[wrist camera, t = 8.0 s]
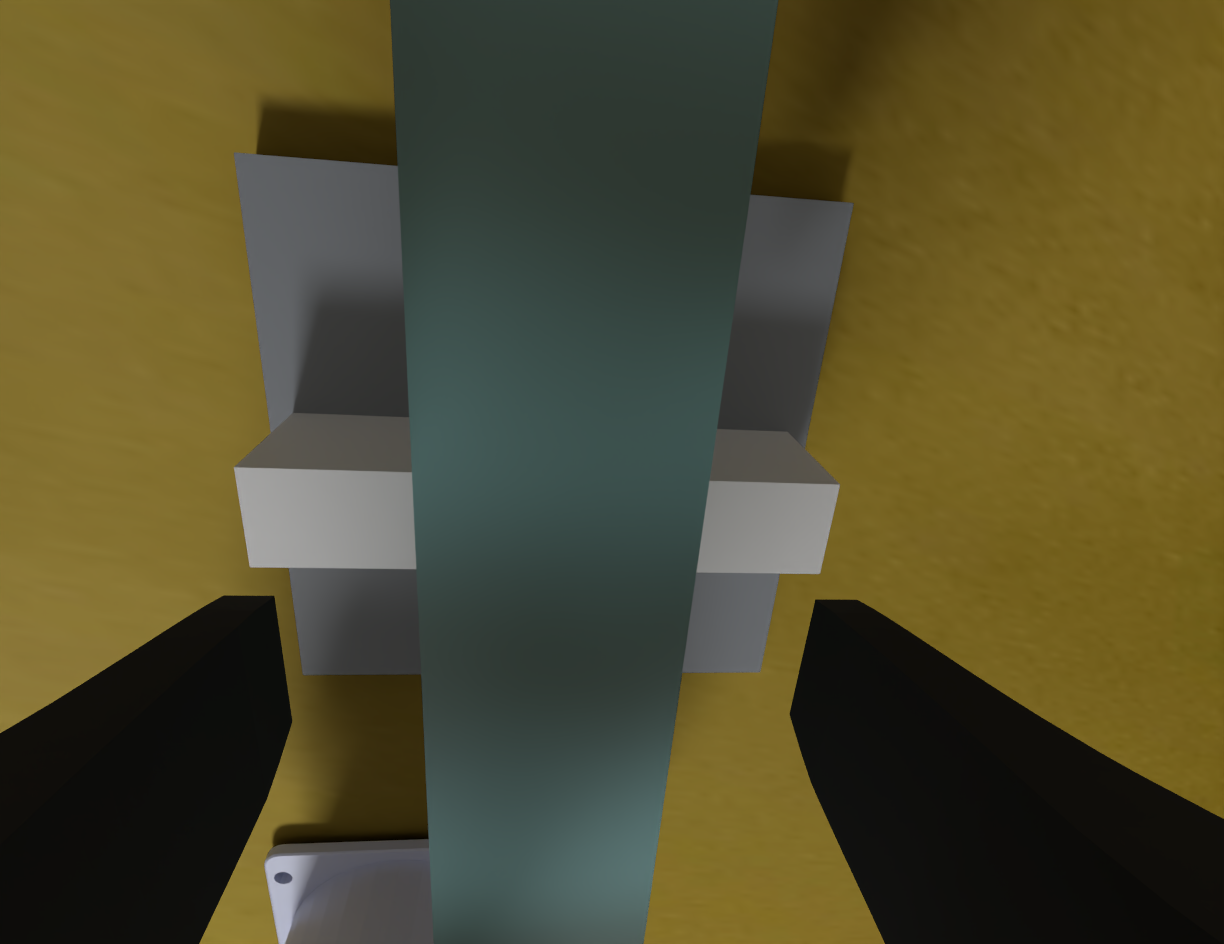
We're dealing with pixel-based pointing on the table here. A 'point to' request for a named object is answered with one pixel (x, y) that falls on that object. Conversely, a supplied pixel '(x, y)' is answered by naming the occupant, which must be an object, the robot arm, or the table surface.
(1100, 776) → the robot arm
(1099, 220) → the table surface
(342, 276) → the stand
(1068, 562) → the table surface
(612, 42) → the teal bar
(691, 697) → the table surface
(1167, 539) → the table surface
